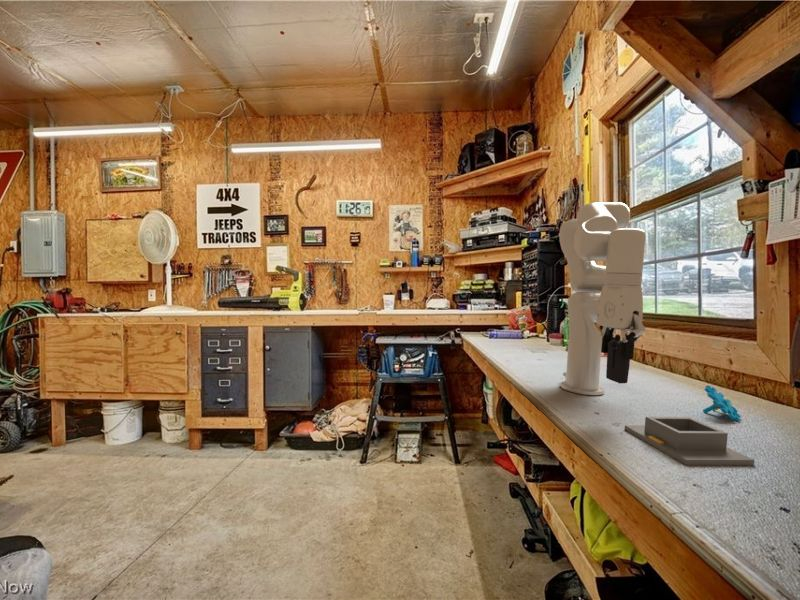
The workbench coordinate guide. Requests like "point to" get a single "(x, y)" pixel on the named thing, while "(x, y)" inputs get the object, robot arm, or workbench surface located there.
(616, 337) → the two-way radio
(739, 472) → the workbench surface
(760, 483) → the workbench surface
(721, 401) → the blue branched piece
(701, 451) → the charging cradle
